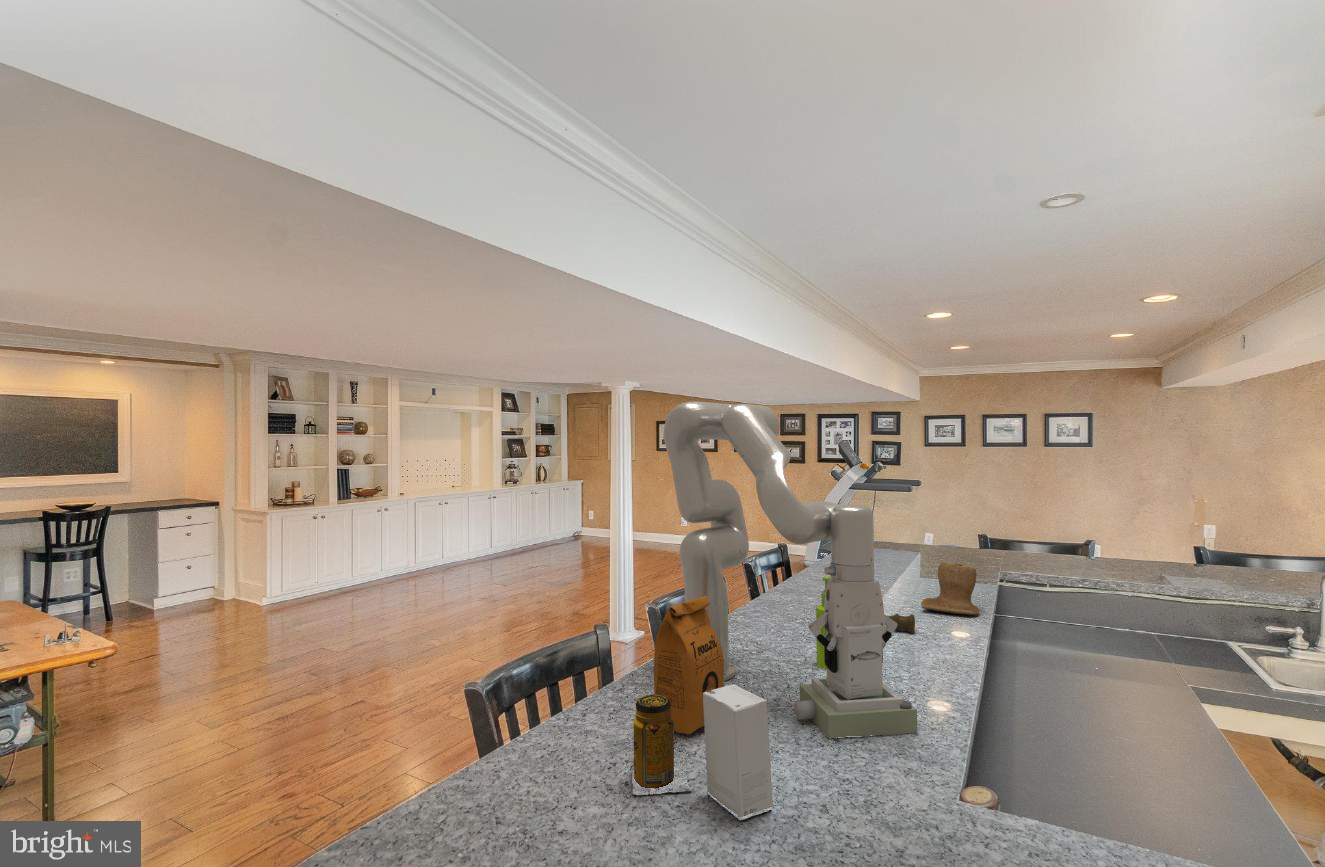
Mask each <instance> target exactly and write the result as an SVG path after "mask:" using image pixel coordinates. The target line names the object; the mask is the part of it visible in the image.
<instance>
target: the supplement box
mask: <svg viewBox="0 0 1325 867" xmlns="http://www.w3.org/2000/svg"><path fill="white" fill-rule="evenodd" d="M827 632H828V631H826V633H827ZM834 650H836V652H837V672H836V673H832V672H831V671H830V670H829V669H828V668H827V669H826V677H827V685H828V686H829V687H830V688H832V689H833V690H834V691H836V692H837V693H839V694H840V695H842V696H843V697H844V698H846V699H847V700H849V699H853V698H860V697H868V696H876V695H877V696H879V695H882V694H883V684H884V682H883V663H882V625H866V626H863V625H861V626H844V629H843V638H842V639H839V640H838V642H837V644H836V645H835V647H834Z"/></svg>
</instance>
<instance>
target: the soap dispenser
mask: <svg viewBox="0 0 1325 867" xmlns="http://www.w3.org/2000/svg"><path fill="white" fill-rule="evenodd" d="M821 579H822V581H823V582H824V590H822V591H821V604H819V605H816V606H815V609H816V610H815V620H816V619H818V618H819V617H820V616H821V615H823V614H824V604H825V595H826V588H827V584H828V579H832V577H831V576H830V575H828V576H822V577H821ZM820 632H821V634H822V635H823V636H824V637H825V635H826V630H825V628H824V626H823V627H821V628H820ZM817 665H818V666H819V668H820V669H823V668H826V669H825V670H827V666H826V665H825V660H824V646H823V645H822V644H821V643H820V642H819V641H818V640H817V639H816V666H817ZM818 666H817V667H818Z"/></svg>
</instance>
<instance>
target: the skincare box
mask: <svg viewBox="0 0 1325 867" xmlns="http://www.w3.org/2000/svg"><path fill="white" fill-rule="evenodd" d="M703 707H704V726H703V728H704V745H705V746H704V747H705V764H706V765H705V767H706V783H707V784H706V789H707V793H708V792H709V793H710V794H711V795H712V796H713V797H714V798H716V799H717V800H718V801H720V803H722V804H723V805H725V807H727V808H728V809H730V810H732V811H733V812H734V813H735V814H737V815H738V816H739V817H743V816H746V815H748V814H751V813H756V812H758V811H761V810H763V809H767V808H770V807H774V802H773V801H774V800H773V788H772V787H773V786H772V768H771V752H770V750H771V749H770V738H769V737H770V735H769V734H770V733H769V719H768V718H769V717H768V700H767V699H765V698H762V697H761V696H759V695H756V694H754V693H752V692H750V691H748V690H746V689H744V688H742V687H740V686H738V685H736V684H733V683H732V684H727V685H724V687H721V688H718V689H714V690H710V691H707V692H704V693H703Z"/></svg>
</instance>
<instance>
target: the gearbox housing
mask: <svg viewBox="0 0 1325 867" xmlns="http://www.w3.org/2000/svg"><path fill="white" fill-rule="evenodd" d="M810 682H811V683H805V684H799V700H795V702H794V714H795V717H796V718H797V720H809V719H811V721H812V722H813V723H814V722H815V723H816V724H815V723H814V724H815V725H816V726H817V727H818V729H819V730H820V729H821V730H822V731H823V732H824V733H825V734H824V733H823V732H822V731H821V730H820V731H821V732H822V733H823V734H824V736H828V738H836V737H837V738H838V737H846V736H868V737H871V736H870V735H882V736H893V735H895V736H896V735H905V734H906V733H909V734H918V709H917V708H916V707H914V706H913V704H912V702H911V701H909V700H905V699H904V698H903V697H902V696H900V695H899V694H898V693H896V692H895V691H894V690H893V689H891V688H890V687H888V686H887V685H886V684H884V683H883V694H882V695H879V696H877V695H876V696H868V697H860V698H853V699H849V700H847V699H846V698H844V697H843V696H842V695H840V694H839V693H837V692H836V691H834V690H833V689H832V688H830V687H829V686H828V685H827V676H825V677H824V676H823V677H812V678H811V681H810ZM906 735H907V734H906ZM828 738H827V739H828Z"/></svg>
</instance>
